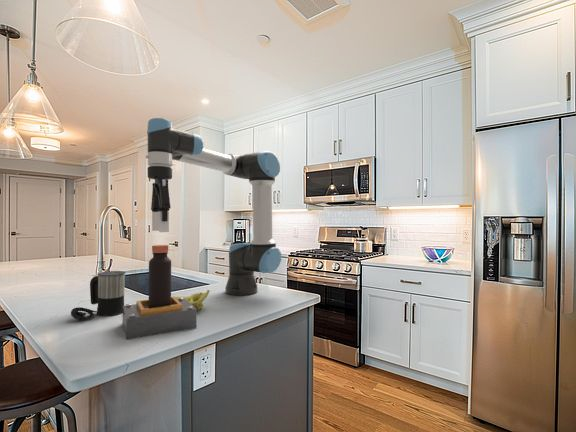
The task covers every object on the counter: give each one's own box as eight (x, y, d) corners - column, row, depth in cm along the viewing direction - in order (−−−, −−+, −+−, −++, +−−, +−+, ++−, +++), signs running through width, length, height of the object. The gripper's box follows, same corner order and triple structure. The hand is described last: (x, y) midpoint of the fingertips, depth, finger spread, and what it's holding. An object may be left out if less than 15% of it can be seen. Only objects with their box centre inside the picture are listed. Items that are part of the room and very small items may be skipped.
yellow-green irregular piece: (153, 304, 122) (167, 287, 131) (159, 319, 125) (172, 302, 134) (199, 304, 117) (211, 287, 126) (205, 319, 120) (216, 302, 129)
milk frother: (130, 309, 124) (130, 270, 124) (106, 322, 108) (106, 278, 108) (93, 309, 124) (93, 270, 124) (64, 322, 108) (64, 278, 108)
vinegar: (164, 310, 100) (164, 246, 101) (144, 310, 101) (144, 246, 101) (174, 305, 107) (175, 244, 107) (155, 304, 108) (156, 244, 108)
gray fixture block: (184, 314, 116) (184, 294, 116) (196, 327, 103) (196, 304, 103) (122, 324, 106) (122, 301, 106) (126, 339, 92) (126, 313, 92)
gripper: (142, 170, 115) (142, 230, 115) (154, 160, 93) (154, 233, 93) (164, 172, 119) (164, 229, 119) (180, 162, 97) (180, 232, 97)
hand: (160, 231), depth 106 cm, fingers open, 13 cm apart
